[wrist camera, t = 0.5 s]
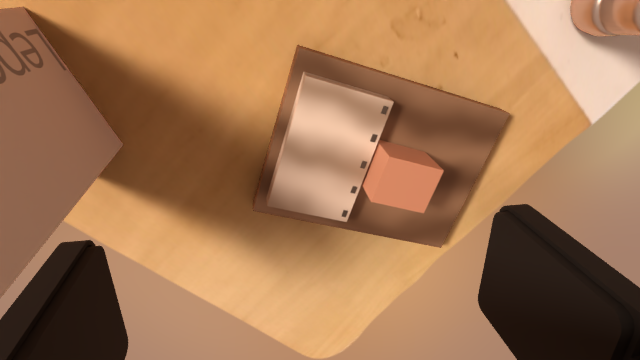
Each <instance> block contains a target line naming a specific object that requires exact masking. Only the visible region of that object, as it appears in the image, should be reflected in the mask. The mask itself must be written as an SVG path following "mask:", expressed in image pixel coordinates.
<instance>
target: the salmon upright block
mask: <svg viewBox="0 0 640 360" xmlns="http://www.w3.org/2000/svg"><path fill="white" fill-rule="evenodd" d="M443 172H444V170H443V169H442V168H441V167H440V166H439V165H438V164H437V163H436V162H435V161H434V160H433V159H432V158H431V157H430V156H429V155H428V154H427V153H426V152H424V151H420V150H416V149H413V148H409V147H405V146H401V145H398V144H394V143H390V142H386V141H382V140H379V141H378V144H377V146H376V149H375V151H374V154H373V156H372V159H371V161H370V164H369V166H368V169H367V172H366V174H365V177H364V179H363V182H362V186H363V188H364V190H365V192H366V194H367V195H368V197H369V199H370V201H371V202H374V203H379V204H383V205H388V206H392V207H397V208H402V209H406V210H411V211H415V212H420V213H424V212H425V210H426V208H427V205H428V203H429V201H430V199H431V197H432V195H433V193H434V191H435V189H436V186H437V184H438V182H439V180H440V178H441V176H442V174H443Z"/></svg>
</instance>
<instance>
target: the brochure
mask: <svg viewBox="0 0 640 360" xmlns="http://www.w3.org/2000/svg"><path fill="white" fill-rule="evenodd" d="M122 146H123V143H122V142H121V141H120V139H119V138H118V137H117V135H116V134H115V132H114V131H113V130H112V128H111V127H110V126H109V124H108V123H107V121H106V120H105V119H104V117H103V116H102V115H101V113H100V112H99V110H98V109H97V108H96V106H95V105H94V104H93V102H92V101H91V99H90V98H89V97H88V95H87V94H86V92H85V91H84V90H83V88H82V87H81V86H80V84H79V83H78V81H77V80H76V79H75V77H74V76H73V75H72V73H71V72H70V70H69V69H68V68H67V66H66V65H65V64H64V62H63V61H62V59H61V58H60V57H59V55H58V54H57V53H56V51H55V50H54V48H53V47H52V46H51V44H50V43H49V42H48V40H47V39H46V37H45V36H44V35H43V33H42V32H41V30H40V29H39V28H38V26H37V25H36V24H35V22H34V21H33V19H32V18H31V17H30V15H29V14H28V13H27V11H26V10H25V8H24V7H17V8H8V9H0V298H1V297H2V296H3V295H4V293H5V292H6V291H7V289H8V288H9V287H10V286H11V284H12V283H13V282H14V281H15V280H16V278H17V277H18V276H19V275H20V273H21V272H22V271H23V269H24V268H25V267H26V266H27V265H28V263H29V262H30V261H31V260H32V258H33V257H34V256H35V254H36V253H37V252H38V251H39V250H40V248H41V247H42V246H43V244H44V243H45V242H46V241H47V240H48V238H49V237H50V236H51V235H52V233H53V232H54V231H55V230H56V228H57V227H58V226H59V225H60V223H61V222H62V221H63V220H64V218H65V217H66V216H67V215H68V213H69V212H70V211H71V210H72V208H73V207H74V206H75V205H76V203H77V202H78V201H79V200H80V198H81V197H82V196H83V195H84V193H85V192H86V191H87V190H88V188H89V187H90V186H91V185H92V183H93V182H94V181H95V180H96V178H97V177H98V176H99V175H100V173H101V172H102V171H103V170H104V168H105V167H106V166H107V165H108V163H109V162H110V161H111V160H112V158H113V157H114V156H115V155H116V154H117V152H118V151H119V150H120V149H121V147H122Z"/></svg>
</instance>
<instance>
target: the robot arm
mask: <svg viewBox="0 0 640 360" xmlns="http://www.w3.org/2000/svg"><path fill="white" fill-rule="evenodd" d="M478 303H479V306H480V309H481V311H482V312H483V313H484V315H485V316H486V318H487V319H488V320H489V322H490V323H491V324H492V326H493V327H494V329H495V330H496V331H497V333H498V334H499V335H500V337H501V338H502V339H503V341H504V342H505V344H506V345H507V346H508V348H509V349H510V350H511V352H512V353H513V354H514V356H515V357H516V358H517V360H640V288H639V287H638V286H636V285H635V284H633V283H632V282H631V281H630V280H629V279H627V278H626V277H624V276H623V275H622V274H621V273H619V272H618V271H616V270H615V269H614V268H612V267H611V266H610V265H609V264H607V263H606V262H604V261H603V260H602V259H600V258H599V257H598V256H596V255H595V254H594V253H593V252H591V251H590V250H588V249H587V248H586V247H584V246H583V245H582V244H581V243H579V242H578V241H577V240H575V239H574V238H573V237H571V236H570V235H569V234H567V233H566V232H565V231H563V230H562V229H560V228H559V227H558V226H556V225H555V224H554V223H552V222H551V221H550V220H548V219H547V218H546V217H545V216H543V215H542V214H540V213H539V212H538V211H536V210H535V209H534V208H532V207H531V206H529V205H527V204H522V205H510V206H504V207H502V208H501V209H500V212H498V213H496V214H495V216H494V218H493V223H492V228H491V234H490V238H489V243H488V248H487V254H486V259H485V264H484V269H483V274H482V279H481V284H480V289H479V294H478ZM127 349H128V337H127V333H126V329H125V325H124V322H123V318H122V314H121V310H120V307H119V303H118V299H117V296H116V292H115V288H114V284H113V281H112V277H111V273H110V270H109V266H108V263H107V259H106V255H105V252H104V249H103V247H102V246H95V244H94V243H93V242H92V241H91V240H86V241H74V242H63V243H61V244H59V246H58V247H57V248H56V249H55V250H54V252H53V253H52V254H51V255H50V257H49V258H48V259H47V261H46V262H45V263H44V264H43V266H42V267H41V268H40V270H39V271H38V272H37V273H36V275H35V276H34V277H33V279H32V280H31V281H30V282H29V284H28V285H27V286H26V287H25V289H24V290H23V291H22V293H21V294H20V295H19V296H18V298H17V299H16V300H15V302H14V303H13V304H12V305H11V307H10V308H9V309H8V311H7V312H6V313H5V314H4V316H3V317H2V318H1V320H0V360H124V359H125V356H126V353H127Z"/></svg>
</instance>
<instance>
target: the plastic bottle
mask: <svg viewBox="0 0 640 360" xmlns="http://www.w3.org/2000/svg"><path fill="white" fill-rule="evenodd" d="M570 12H571V16H572V20H573V22H574V24H575V25H576V26H577V28H578V29H580V30H582V31H584V32H586V33H588V34H591V35H594V36H617V35H640V0H571V6H570Z"/></svg>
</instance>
